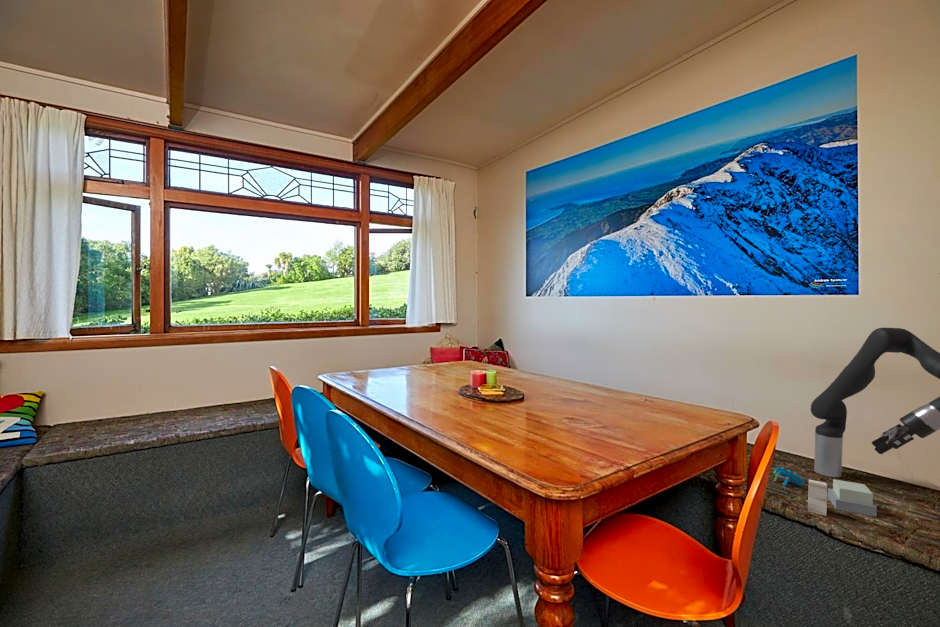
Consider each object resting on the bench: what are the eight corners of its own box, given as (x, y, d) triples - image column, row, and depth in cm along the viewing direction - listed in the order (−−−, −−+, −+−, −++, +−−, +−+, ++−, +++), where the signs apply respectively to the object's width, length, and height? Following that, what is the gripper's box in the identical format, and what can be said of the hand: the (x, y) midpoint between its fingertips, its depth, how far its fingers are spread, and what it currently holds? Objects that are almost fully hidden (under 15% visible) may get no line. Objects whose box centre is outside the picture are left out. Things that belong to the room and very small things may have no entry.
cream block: (807, 506, 154) (808, 479, 154) (825, 510, 151) (826, 483, 150) (808, 511, 150) (808, 483, 150) (826, 515, 147) (827, 487, 147)
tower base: (827, 498, 161) (828, 488, 161) (865, 505, 156) (866, 494, 156) (835, 510, 152) (836, 499, 152) (876, 518, 147) (876, 507, 146)
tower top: (832, 489, 160) (833, 479, 160) (864, 495, 156) (864, 484, 155) (839, 499, 152) (839, 488, 152) (872, 505, 148) (873, 494, 148)
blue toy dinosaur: (810, 485, 168) (795, 469, 167) (804, 497, 166) (788, 481, 165) (783, 478, 178) (769, 462, 177) (777, 489, 177) (762, 474, 176)
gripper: (909, 407, 142) (862, 434, 150) (917, 415, 131) (867, 444, 138) (931, 425, 139) (883, 452, 146) (942, 435, 128) (889, 463, 135)
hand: (875, 448), depth 142 cm, fingers open, 8 cm apart
